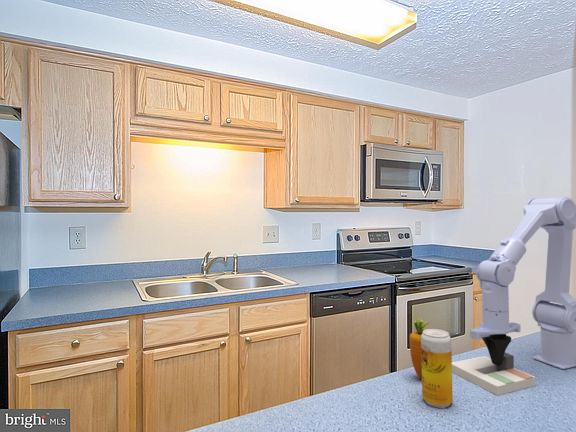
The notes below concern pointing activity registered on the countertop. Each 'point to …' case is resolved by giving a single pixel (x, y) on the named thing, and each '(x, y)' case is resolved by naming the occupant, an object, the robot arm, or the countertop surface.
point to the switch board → (492, 375)
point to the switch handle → (506, 362)
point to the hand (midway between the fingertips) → (496, 364)
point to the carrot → (417, 346)
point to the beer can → (436, 368)
